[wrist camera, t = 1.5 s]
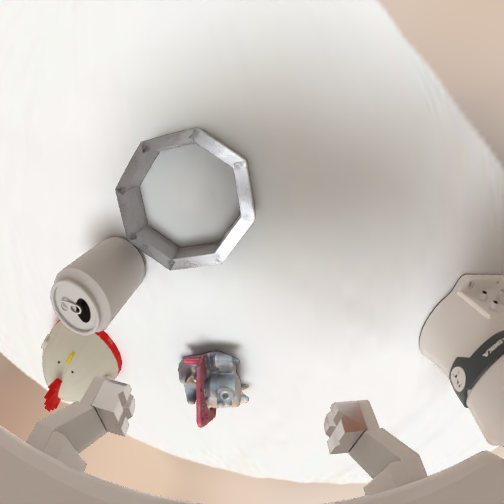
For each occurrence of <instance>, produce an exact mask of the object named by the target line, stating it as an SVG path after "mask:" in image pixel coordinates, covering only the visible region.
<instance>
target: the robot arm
mask: <svg viewBox="0 0 504 504" xmlns="http://www.w3.org/2000/svg"><path fill="white" fill-rule="evenodd" d="M419 344H420V350H421V352H422V354H423V355H424V356H425V357H427V358H428V359H430V360H431V361H432V362H433V363H434V364H435V365H437V366H438V367H439V368H440V369H441V371H442V372H443V373H444V374H445V375H446V376H447V377H448V378H449V379H450V382H451V384H452V386H453V388H454V391H455V393H456V394H457V396H458V397H459V399H460V401H461V402H462V404H463V405H464V407H466V408H469V410H470V411H471V413H472V415H473V417H474V419H475V420H476V422H477V424H478V426H479V428H480V430H481V432H482V433H483V435H484V437H485V439H486V441H487V442H488V443H489V444H491V445H494V446H503V447H504V275H463V276H462V277H461V278H460V279H459V280H458V282H457V284H456V285H455V287H454V288H453V290H452V292H451V293H450V294H449V295H448V296H447V297H446V298H445V299H444V300H442V301H441V302H440V303H439V305H438V306H437V307H436V308H435V309H434V311H433V312H432V313H431V315H430V316H429V318H428V319H427V321H426V323H425V325H424V327H423V330H422V332H421V336H420V343H419ZM131 390H132V389H131V387H130V385H129V384H125V383H121V382H118V381H114V380H111V379H108V378H104V377H101V376H95V377H94V378H93V380H92V382H91V383H90V385H89V387H88V389H87V390H86V392H85V394H84V396H83V397H82V399H81V401H80V402H79V401H76V402H74V403H72V404H71V405H69V406H67V407H65V408H63V409H61V410H59V411H57V412H55V413H53V414H51V415H49V416H47V417H45V418H43V419H41V420H39V421H38V422H37V423H36V425H35V427H34V429H33V430H32V432H31V434H30V436H29V438H28V439H27V441H26V442H25V441H23V440H22V439H20V438H18V437H17V436H15V435H14V434H12V433H11V432H9V431H8V430H6V429H5V428H4V427H2V426H1V425H0V504H202V503H194V502H188V501H182V500H176V499H171V498H166V497H161V496H157V495H153V494H149V493H145V492H141V491H137V490H134V489H131V488H127V487H124V486H121V485H118V484H114V483H112V482H109V481H106V480H103V479H101V478H98V477H95V476H93V475H90V474H88V473H85V472H84V471H85V468H86V465H87V464H86V462H85V460H84V459H83V458H82V457H81V456H80V455H79V453H80V452H81V451H83V450H84V449H86V448H87V447H88V446H90V445H91V444H92V443H94V442H95V441H96V440H98V439H99V438H100V437H102V436H103V435H104V434H105V433H107V432H111V433H115V434H118V435H122V436H125V435H126V432H127V430H128V427H129V423H128V419H129V418H131V417H132V416H133V413H134V409H135V400H134V397H133V396H132V395H131V394H130V393H131ZM330 408H331V412H329V413H328V414H327V415H326V418H325V422H324V429H325V434H326V435H328V436H329V437H330V438H329V440H328V441H327V443H328V448H329V453H330V454H339V453H348V452H349V453H348V454H349V455H350V456H351V457H352V458H353V459H354V460H355V461H356V462H357V463H358V464H359V465H360V466H361V467H362V468H363V469H364V470H365V471H366V472H367V473H368V474H369V475H370V476H371V477H372V478H373V480H371V481H370V482H369V483H368V484H367V485H366V486H365V487H364V491H365V496H362V497H358V498H353V499H348V500H342V501H336V502H330V503H323V504H504V459H502V458H500V457H499V456H497V455H495V454H493V453H491V452H489V451H481V452H479V453H477V454H475V455H473V456H471V457H470V458H468V459H466V460H464V461H462V462H460V463H458V464H456V465H453V466H451V467H449V468H447V469H445V470H442V471H440V472H438V473H435V474H433V475H430V476H427V474H426V471H425V468H424V466H423V463H422V461H421V458H420V456H419V454H418V453H416V452H415V451H413V450H412V449H411V448H409V447H408V446H406V445H405V444H404V443H402V442H401V441H400V440H398V439H397V438H395V437H394V436H393V435H391V434H390V433H389V432H387V431H386V430H385V429H383V428H379V425H378V423H377V420H376V417H375V415H374V412H373V410H372V407H371V405H370V402H369V401H368V400H360V401H346V402H334V403H333V404H332V405H331V407H330Z"/></svg>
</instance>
